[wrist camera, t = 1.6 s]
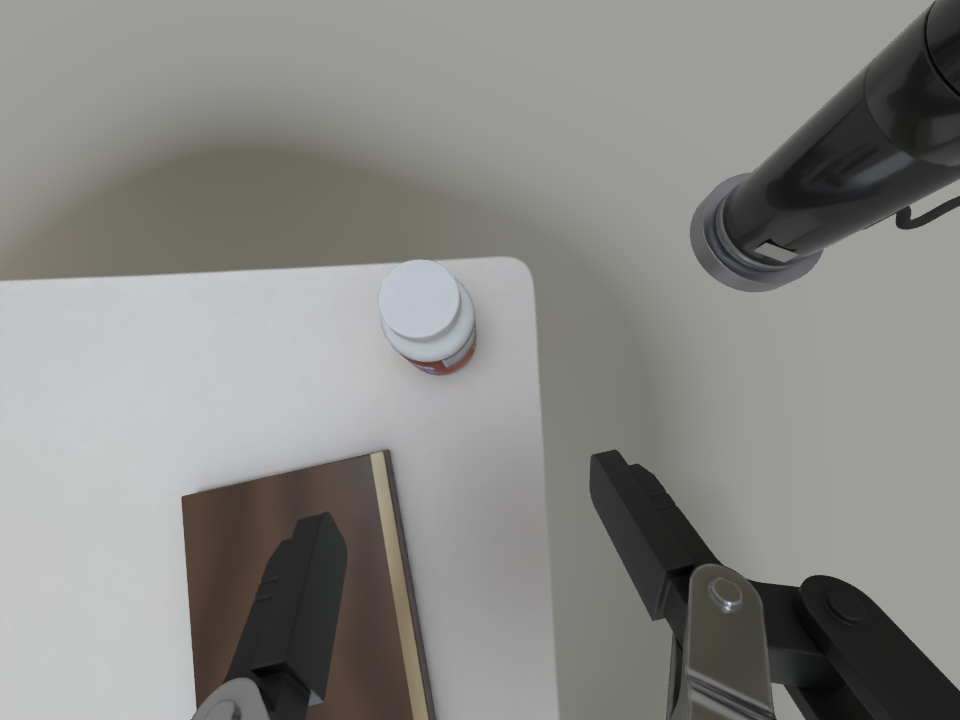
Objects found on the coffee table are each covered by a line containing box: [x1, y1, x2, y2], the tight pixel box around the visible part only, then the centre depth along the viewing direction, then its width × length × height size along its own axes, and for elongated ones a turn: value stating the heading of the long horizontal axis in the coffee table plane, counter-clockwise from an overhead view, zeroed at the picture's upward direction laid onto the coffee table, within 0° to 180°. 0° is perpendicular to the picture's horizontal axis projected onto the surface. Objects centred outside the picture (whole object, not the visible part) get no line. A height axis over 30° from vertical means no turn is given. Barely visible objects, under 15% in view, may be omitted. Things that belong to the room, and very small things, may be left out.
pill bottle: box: [378, 260, 476, 375], centre depth 26 cm, size 6×6×11 cm
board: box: [182, 450, 436, 720], centre depth 27 cm, size 16×22×2 cm
